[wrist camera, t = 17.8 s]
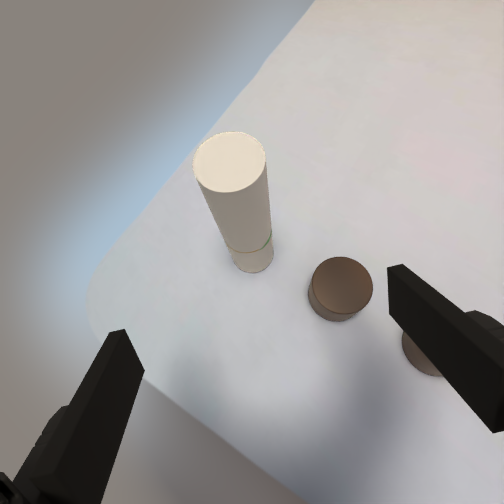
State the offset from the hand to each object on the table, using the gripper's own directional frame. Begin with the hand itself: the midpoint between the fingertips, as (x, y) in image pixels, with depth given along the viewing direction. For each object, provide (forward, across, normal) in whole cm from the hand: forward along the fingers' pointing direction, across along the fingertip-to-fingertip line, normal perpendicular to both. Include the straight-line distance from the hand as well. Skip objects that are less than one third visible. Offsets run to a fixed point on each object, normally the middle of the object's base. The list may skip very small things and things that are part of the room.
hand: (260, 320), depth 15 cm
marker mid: (+12, +7, -8) cm, 16 cm away
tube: (+16, 0, -4) cm, 17 cm away
